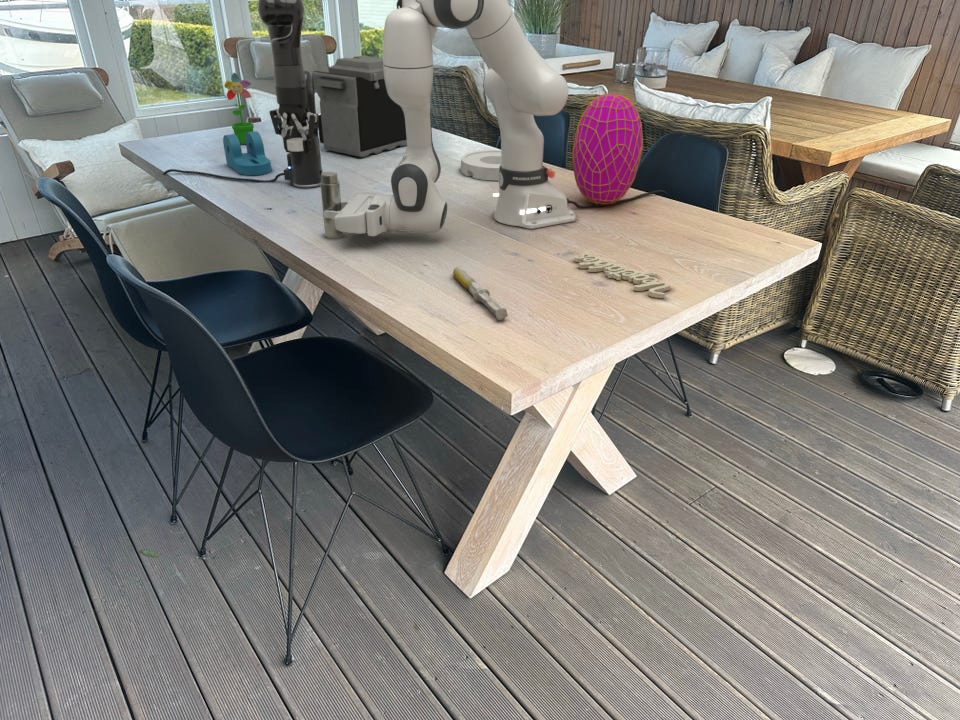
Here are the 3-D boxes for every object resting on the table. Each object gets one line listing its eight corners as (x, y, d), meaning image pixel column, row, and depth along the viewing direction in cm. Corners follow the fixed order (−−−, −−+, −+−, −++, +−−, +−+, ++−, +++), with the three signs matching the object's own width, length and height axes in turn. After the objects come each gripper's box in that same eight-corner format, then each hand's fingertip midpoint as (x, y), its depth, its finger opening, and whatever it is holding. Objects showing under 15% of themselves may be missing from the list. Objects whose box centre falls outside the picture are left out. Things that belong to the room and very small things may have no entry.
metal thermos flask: (327, 231, 178) (322, 170, 170) (345, 232, 178) (340, 171, 170) (323, 238, 174) (317, 175, 166) (341, 239, 174) (336, 176, 166)
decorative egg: (611, 217, 189) (624, 103, 174) (555, 202, 201) (562, 94, 185) (647, 202, 202) (662, 94, 186) (592, 188, 213) (602, 86, 198)
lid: (295, 152, 176) (293, 143, 174) (283, 149, 179) (282, 139, 177) (312, 149, 179) (311, 140, 178) (300, 145, 182) (299, 136, 181)
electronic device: (383, 133, 276) (378, 52, 261) (425, 141, 265) (422, 56, 250) (314, 150, 251) (304, 61, 235) (358, 160, 240) (350, 67, 224)
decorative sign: (686, 282, 150) (660, 295, 144) (686, 286, 150) (659, 300, 144) (592, 249, 166) (565, 259, 160) (592, 253, 167) (565, 263, 161)
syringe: (449, 274, 155) (449, 263, 153) (465, 272, 156) (464, 260, 154) (490, 323, 135) (491, 310, 133) (508, 319, 136) (508, 307, 134)
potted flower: (235, 145, 255) (223, 73, 243) (231, 141, 261) (219, 70, 249) (261, 143, 259) (250, 72, 247) (256, 139, 265) (246, 69, 252)
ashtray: (462, 161, 240) (462, 149, 238) (529, 162, 239) (529, 150, 237) (459, 179, 220) (459, 167, 218) (531, 181, 220) (531, 168, 217)
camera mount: (227, 164, 233) (221, 132, 227) (257, 160, 238) (252, 129, 233) (244, 176, 220) (239, 143, 215) (276, 172, 225) (271, 139, 220)
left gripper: (257, 83, 170) (267, 153, 179) (305, 88, 165) (313, 159, 174) (276, 79, 176) (285, 147, 185) (323, 83, 171) (330, 152, 180)
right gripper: (391, 188, 178) (340, 185, 180) (370, 213, 161) (313, 210, 162) (392, 211, 181) (342, 209, 183) (372, 238, 164) (316, 235, 165)
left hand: (298, 152), depth 179 cm, fingers closed on lid, 5 cm apart
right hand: (328, 209), depth 172 cm, fingers closed on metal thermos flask, 5 cm apart
